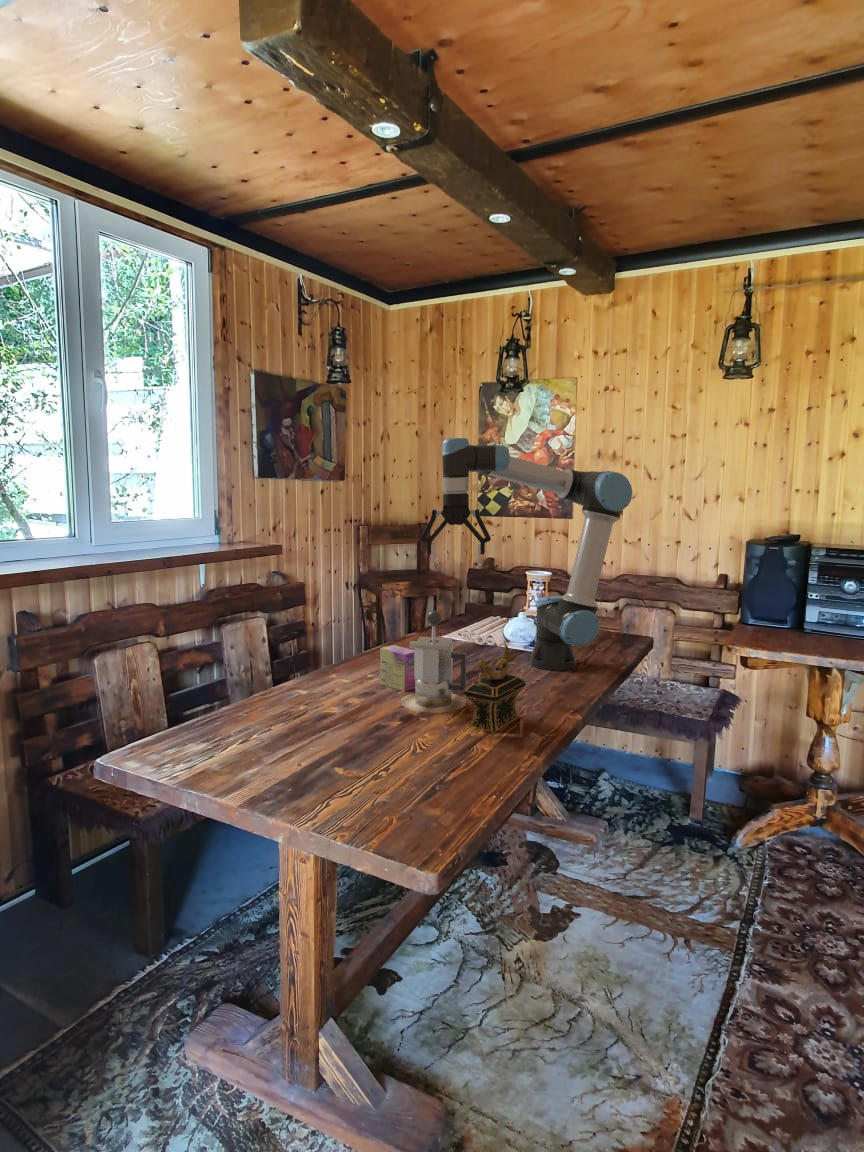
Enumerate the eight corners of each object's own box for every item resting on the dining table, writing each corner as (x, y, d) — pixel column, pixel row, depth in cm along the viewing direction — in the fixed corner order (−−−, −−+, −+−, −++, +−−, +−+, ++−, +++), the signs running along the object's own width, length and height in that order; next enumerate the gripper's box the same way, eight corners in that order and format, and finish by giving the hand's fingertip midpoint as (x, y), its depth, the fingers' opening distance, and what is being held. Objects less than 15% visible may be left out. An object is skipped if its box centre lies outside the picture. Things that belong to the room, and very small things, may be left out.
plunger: (441, 670, 193) (442, 609, 190) (439, 674, 189) (440, 612, 186) (427, 669, 193) (427, 609, 191) (425, 673, 189) (425, 611, 187)
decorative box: (495, 738, 168) (497, 658, 165) (461, 729, 174) (462, 652, 171) (532, 715, 185) (534, 642, 182) (500, 707, 190) (502, 637, 187)
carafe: (466, 697, 196) (467, 638, 193) (463, 709, 186) (464, 647, 184) (412, 694, 198) (413, 636, 195) (406, 706, 188) (407, 644, 186)
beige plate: (468, 695, 200) (468, 693, 200) (462, 717, 182) (462, 714, 182) (406, 692, 202) (406, 689, 202) (394, 713, 185) (395, 710, 185)
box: (418, 689, 205) (418, 650, 204) (404, 694, 201) (404, 654, 199) (393, 682, 212) (393, 644, 211) (379, 686, 208) (379, 647, 206)
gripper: (499, 491, 204) (499, 563, 207) (414, 492, 207) (415, 563, 210) (499, 492, 197) (498, 567, 200) (411, 493, 199) (412, 567, 203)
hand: (456, 565), depth 205 cm, fingers open, 13 cm apart
